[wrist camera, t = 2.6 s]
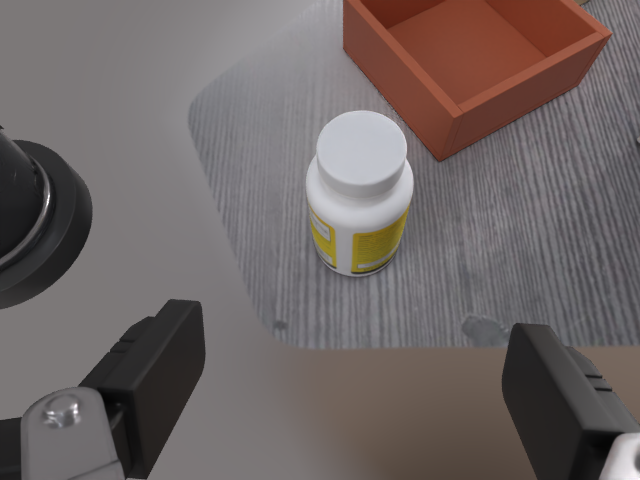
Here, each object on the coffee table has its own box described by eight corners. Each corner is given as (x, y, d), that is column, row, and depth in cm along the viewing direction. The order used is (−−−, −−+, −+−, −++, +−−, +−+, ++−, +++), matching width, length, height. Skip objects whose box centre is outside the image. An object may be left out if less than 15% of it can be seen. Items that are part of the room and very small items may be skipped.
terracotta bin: (439, 162, 31) (454, 118, 26) (342, 48, 35) (343, -5, 31) (578, 85, 33) (613, 32, 29) (470, -13, 37) (487, -71, 33)
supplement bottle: (409, 214, 29) (438, 115, 20) (383, 290, 27) (404, 217, 18) (330, 190, 30) (325, 85, 21) (300, 262, 28) (280, 179, 19)
